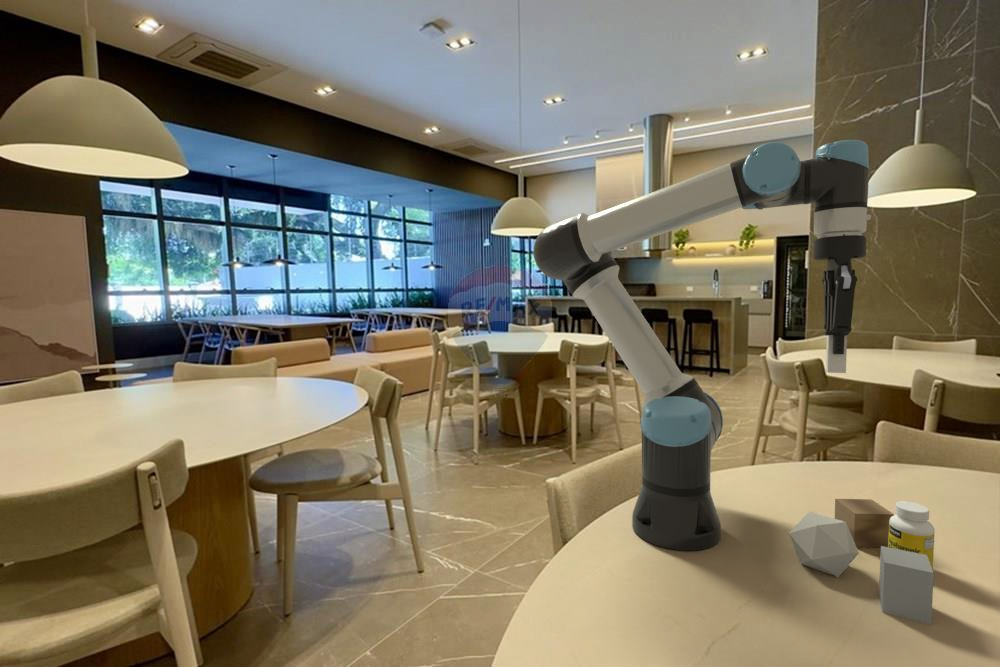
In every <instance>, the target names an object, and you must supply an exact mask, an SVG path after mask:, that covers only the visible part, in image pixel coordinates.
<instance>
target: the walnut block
mask: <svg viewBox="0 0 1000 667" xmlns="http://www.w3.org/2000/svg"><path fill="white" fill-rule="evenodd" d="M894 515H895V513H893V512H891V511H890V510H888V509H887V508H885V507H884V506H883V505H881V504H880V503H878V502H876V501H875V500H873V499H869V498H865V499H863V498H860V499H859V498H834V519H837V520H841V521H844V522H846V523H847V526H848V528H849V530H850V533H851V535H852V538H853V540H854V543H855V545H856V547H857V549H875V550H876V549H879V550H881V546H884V547H888V538H889V520H890V518H891V517H892V516H894Z"/></svg>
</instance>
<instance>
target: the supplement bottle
mask: <svg viewBox="0 0 1000 667" xmlns="http://www.w3.org/2000/svg"><path fill="white" fill-rule="evenodd" d="M894 509H895V510H894V511H895V514H894V516H892V517H891V518H890V520H889V538H888V547H889V548H894V549H899V550H904V551H909V552H914V553H919V554H924V555H927V557H928V559H929V562H930V565H931V567H932V570H933V569H934V551H935V550H934V549H935V527H934V524H932V523H931V522H930V521H929V520H930V509H929V508H928V507H926V506H925V505H922V504H920V503H917V502H913V501H912V502H911V501H905V500H902V501H901V500H900V501H897V502H896V503H895V508H894ZM933 571H934V570H933Z"/></svg>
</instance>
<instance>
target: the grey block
mask: <svg viewBox="0 0 1000 667" xmlns="http://www.w3.org/2000/svg"><path fill="white" fill-rule="evenodd" d="M879 554H880V556H879V560H880V562H879V586H878V596H879V600H880V606H881V611H882V613H884V614H887V615H891V616H895V617H898V618H899V617H900V618H902V619H903V618H904V619H907V620H911V621H914V622H919V623H923V624H926V623H928V624H927V625H930V624H931V625H932V619H933V616H932V614H933V598H934V596H933V594H934V577H935V576H934V575H935V574H934V570H932V567H931V565H930V562H929V559H928V557H927V555H924V554H919V553H914V552H909V551H904V550H899V549H894V548H889V547H884V546H881V549H880V553H879Z"/></svg>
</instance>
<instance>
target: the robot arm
mask: <svg viewBox="0 0 1000 667" xmlns="http://www.w3.org/2000/svg"><path fill="white" fill-rule="evenodd" d="M869 162H870V160H869V146H868V143H866V142H865V141H863V140H861V139H860V140H859V139H845V140H838V141H834V142H828V143H825V144H823V145H821V146H819V147H818V148H817V149H816V152H815V155H814V158H810V159H807V160H801V159H800V158H799V156H798V154H797V153H796V151H795V150H794V149H793V148H792V147H791V146H790V145H788V144H786V143H784V142H779V141H769V142H765V143H763V144H761V145H758V146H757V147H756V148H754V149H753V150H751V151H750V153H749V154H748V156H744V157H742V158H740V159H737V160H735V161H732V162H730V163H727V164H724V165H721V166H719V167H716V168H713V169H711V170H708V171H705V172H703V173H700V174H698V175H697V174H696V175H695V176H691V177H689V178H687V179H684V180H682V181H679V182H676V183H674V184H671V185H668V186H666V187H663V188H660V189H657V190H655V191H653V192H649V193H646V194H643V195H642V196H639V197H636V198H633V199H631V200H628V201H625V202H623V203H620V204H618V205H614V206H613V207H610V208H607V209H604V210H602V211H599V212H596V213H594V214H591V215H588V214H587V213H584V212H581V213H578V214H575V215H573V216H570V217H567V218H565V219H561V220H559V221H556V222H553V223H551V224H549V225H548V226H545V228H543V229H542V231H541V232H540V233H539V234H538V236H537V237H536V238H535V242H534V244H533V258H534V262H535V264H536V266H537V268H538V270H540V272H541V273H542V274H544V275H545V276H547V277H548V278H551V279H553V280H555V281H556V280H557V281H562V282H563V284H565V286H566V288H567V289H568V291H569V292H570V294H571V295H572V297H573V298H576V299H580V300H583V302H585V305H586V306H587V307H588V309H589V310H590V312H591V313H592V315H593V316H594V318H595V319H596V321H597V322H598V324H599V325H600V328H602V331H603V332H604V334H605V335H606V337H607V338H608V340H609V341H610V343H611V344H612V347H613V348H614V349H615V350H616V352H617V353H618V355H619V356H620V359H621V360H622V362H623V363H624V364H625V366H626V367H627V369H628V370H629V372H630V373H631V375H632V377H633V378H634V380H635V382H636V383H637V385H638V386H639V387H640V389H641V392H643V394H644V400H643V405H642V406H643V409H642V413H641V419H640V428H641V488H640V489H639V490H640V491H639V494H638V496H637V499H636V502H635V504H634V505H635V506H634V507H633V511H632V517H631V518H632V520H631V523H632V525H631V526H632V529H633V531H634V532H635V534H636V535H637V537H639V538H641V539H642V540H644V541H646V542H647V543H650V544H652V545H655V546H658V547H661V548H665V549H668V550H669V549H670V550H675V551H700V550H707V549H709V548H711V547H714V546H716V545H717V544H718V543H719V542H720V540H721V537H722V536H721V535H722V534H721V528H722V525H721V521H720V517H719V513H718V512H717V508H716V506H715V502H714V500H713V497H712V493H711V458H712V457H711V455H712V450H713V449H714V446H715V443H716V442H717V441H718V440H719V438H720V436H721V434H722V432H723V426H724V423H723V422H724V419H723V413H722V409H721V407H720V405H719V403H718V402H717V401H716V399H715V398H714V397H712V395H710V394H708V393H707V392H705V391H704V390H703V389H702V387H701V385H700V384H699V382H698V381H697V380H696V378H695V377H694V376H693V375H690V374H685V373H683V372H682V371H681V370H680V368H679V367H678V365H677V364H676V362H675V361H674V360H673V358H672V357H671V355H670V353H669V352H668V351H667V349H666V348H665V346H664V345H663V343H662V341H661V340H660V339H659V337H658V335H656V333H655V331H654V329H653V328H652V327H651V325H650V324H649V323H648V321H647V319H646V318H645V316H644V315H643V313H642V312H641V311H640V309H639V307H638V306H637V304H636V303H635V302H634V300H633V298H632V297H631V296H630V293H628V290H626V288H625V287H624V285H623V283H622V282H621V281H620V279H619V276H618V275H619V273H620V265H618V263H617V261H616V260H615V258H614V257H613V253H612V252H613V251H616V250H619V249H621V248H622V249H623V248H625V247H628V246H631V245H634V244H637V243H641V242H643V241H645V240H648V239H649V240H650V239H652V238H655V237H657V236H661V235H663V234H667V233H668V232H669V233H670V232H672V231H675V230H679V229H681V228H684V227H687V226H690V225H695V223H699V222H703V221H705V220H708V219H712V218H714V217H716V216H717V217H718V216H720V215H723V214H727V213H730V212H732V211H735V210H738V209H743V210H759V211H760V210H763V209H770V208H771V209H772V208H777V207H779V208H780V207H788V206H798V205H809V204H814V213H813V235H814V236H816V237H817V238H815V239H814V240H813V259H814V260H816V261H827V264H826V265H827V266H826V270H823V273H822V279H821V282H822V287H823V288H822V289H823V317H824V318H823V322H824V324H823V329H824V330H825V331H824V336H826V349H825V350H826V351H825V354H826V355H825V372H826V373H827V374H828V373H829V374H847V355H848V354H847V348H848V347H847V346H848V335H850V333H851V332H852V321H853V312H854V311H853V309H854V300H855V290H856V286H857V281H858V278H857V275H856V270H855V269H853V268H852V267H853V265H852V260H857V259H863V258H865V257H866V255H867V237H866V236H865V235H863V233H865V232H867V225H868V224H867V223H868V222H867V221H870V220H871V219H872V218H871V217H872V215H871V214H867V213H868V202H869V201H868V200H869V182H870V180H869V179H870V168H871V166H870V165H869V164H870V163H869Z"/></svg>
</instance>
